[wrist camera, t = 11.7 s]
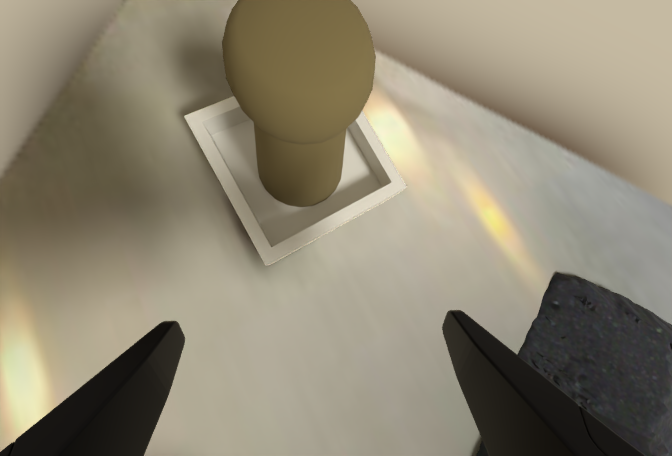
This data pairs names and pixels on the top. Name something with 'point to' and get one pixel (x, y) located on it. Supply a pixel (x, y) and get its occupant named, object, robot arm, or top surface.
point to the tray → (274, 216)
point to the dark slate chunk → (606, 360)
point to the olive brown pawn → (299, 88)
